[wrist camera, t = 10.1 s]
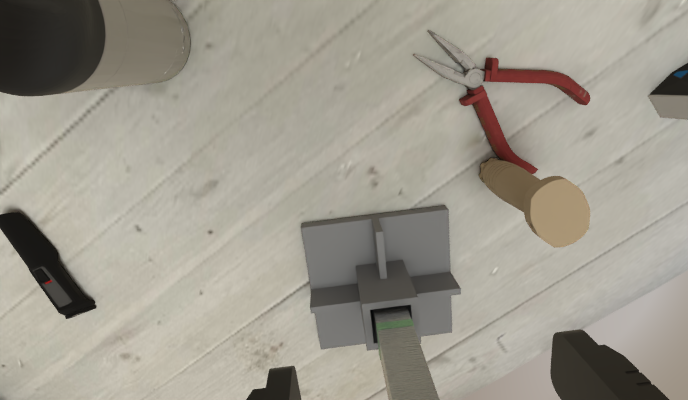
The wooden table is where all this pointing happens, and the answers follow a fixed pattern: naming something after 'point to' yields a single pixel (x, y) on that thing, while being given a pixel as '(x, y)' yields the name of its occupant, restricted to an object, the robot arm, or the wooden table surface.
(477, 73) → the pliers
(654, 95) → the padlock
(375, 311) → the column
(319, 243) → the stand
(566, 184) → the handle
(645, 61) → the wooden table surface
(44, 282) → the electric trimmer
